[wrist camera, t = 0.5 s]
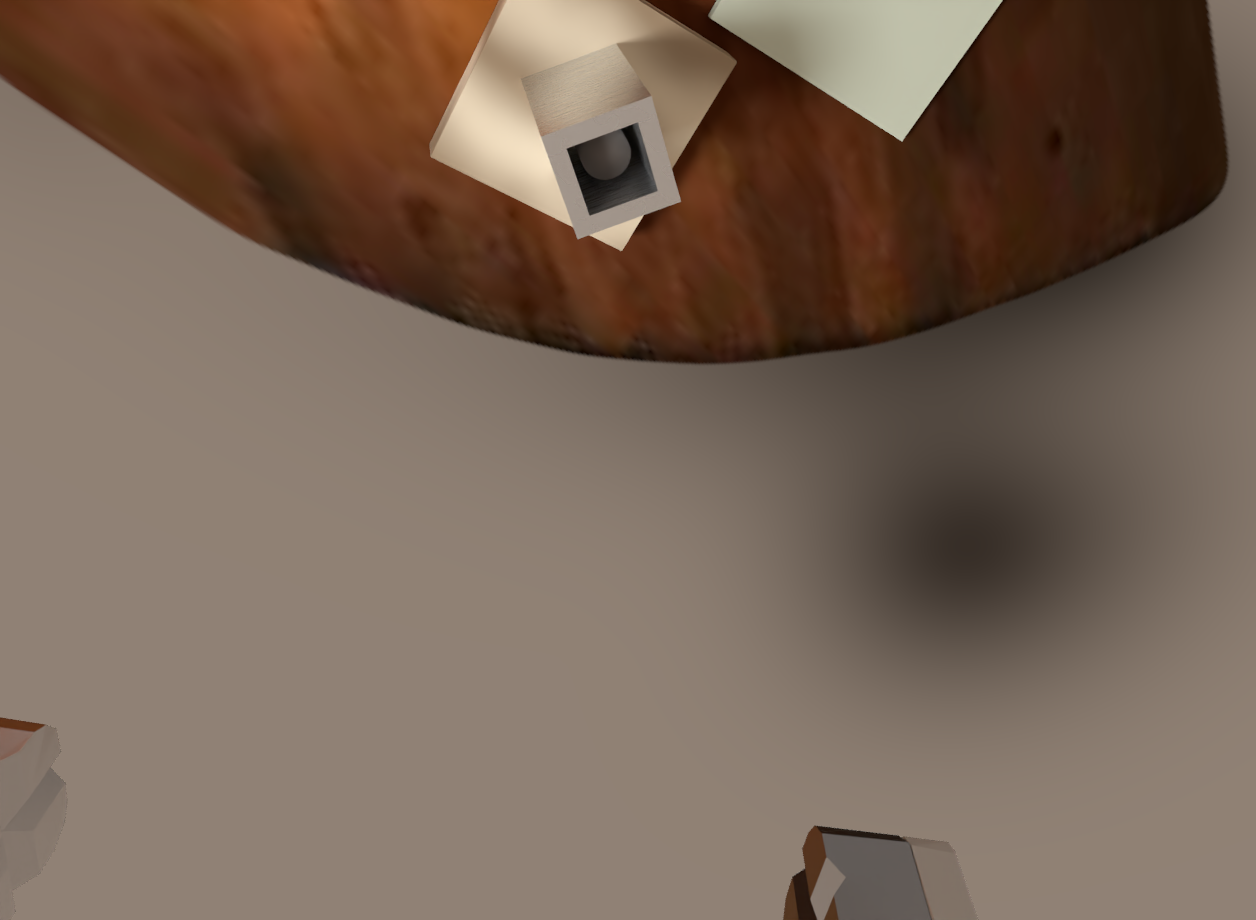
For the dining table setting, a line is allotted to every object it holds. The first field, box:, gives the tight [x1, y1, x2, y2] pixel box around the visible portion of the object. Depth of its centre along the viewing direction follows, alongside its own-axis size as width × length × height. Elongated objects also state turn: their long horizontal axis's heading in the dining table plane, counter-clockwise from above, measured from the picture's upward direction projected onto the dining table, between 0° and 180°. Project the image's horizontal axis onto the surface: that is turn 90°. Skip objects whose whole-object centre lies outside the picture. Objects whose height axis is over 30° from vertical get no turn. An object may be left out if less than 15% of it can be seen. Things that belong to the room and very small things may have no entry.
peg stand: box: [430, 0, 737, 251], centre depth 51 cm, size 12×12×9 cm
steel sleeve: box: [521, 44, 681, 239], centre depth 49 cm, size 5×5×9 cm
